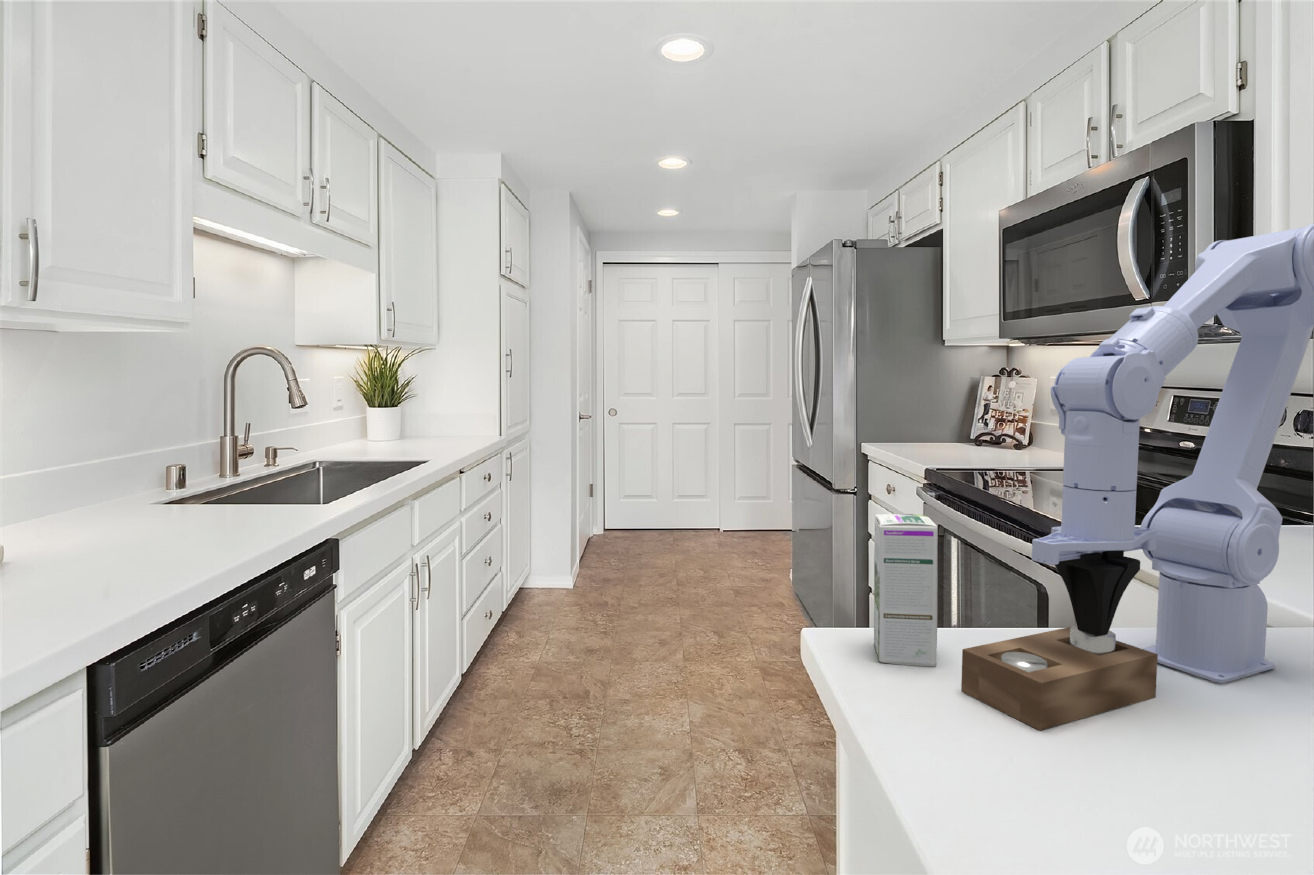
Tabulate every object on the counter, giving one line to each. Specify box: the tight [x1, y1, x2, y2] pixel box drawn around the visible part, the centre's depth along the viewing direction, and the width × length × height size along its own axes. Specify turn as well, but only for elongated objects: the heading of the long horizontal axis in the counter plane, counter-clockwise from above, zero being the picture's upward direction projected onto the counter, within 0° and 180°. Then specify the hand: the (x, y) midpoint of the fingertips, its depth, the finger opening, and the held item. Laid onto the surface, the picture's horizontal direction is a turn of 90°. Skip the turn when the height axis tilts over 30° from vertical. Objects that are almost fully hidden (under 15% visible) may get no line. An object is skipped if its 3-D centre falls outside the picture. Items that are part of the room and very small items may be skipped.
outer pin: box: [1001, 652, 1048, 672], centre depth 61 cm, size 4×4×4 cm
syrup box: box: [873, 513, 939, 668], centre depth 72 cm, size 6×6×14 cm
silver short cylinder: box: [1070, 624, 1117, 656], centre depth 65 cm, size 4×4×4 cm
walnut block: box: [960, 626, 1158, 731], centre depth 63 cm, size 15×8×4 cm, turn 114°
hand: (1092, 632), depth 65 cm, fingers closed, pressing on silver short cylinder
